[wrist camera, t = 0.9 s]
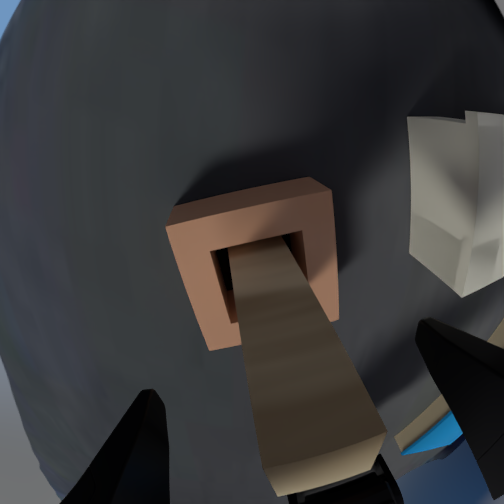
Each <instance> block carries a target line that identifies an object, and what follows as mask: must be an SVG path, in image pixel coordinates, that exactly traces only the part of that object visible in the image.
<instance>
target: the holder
mask: <svg viewBox="0 0 504 504" xmlns="http://www.w3.org/2000/svg"><path fill="white" fill-rule="evenodd" d="M165 227H166V231H167V234H168V237H169V240H170V243H171V246H172V249H173V252H174V255H175V258H176V261H177V264H178V267H179V270H180V273H181V276H182V279H183V282H184V285H185V288H186V290H187V293H188V296H189V299H190V302H191V304H192V307H193V310H194V312H195V315H196V318H197V320H198V323H199V326H200V328H201V331H202V333H203V336H204V338H205V341H206V344H207V346H208V349H209V351H211V350H217V349H222V348H226V347H231V346H236V345H241V337H240V331H239V324H238V317H237V311H236V304H235V297H234V290H229V291H227V289H226V286H225V282H224V278H223V275H222V271H221V267H220V264H219V260H218V256H217V253H216V250H217V249H222V248H226V247H230V246H235V245H239V244H243V243H248V242H252V241H256V240H261V239H265V238H270V237H274V236H279V235H283V234H288V233H289V235H290V242H291V249H292V255H293V257H294V259H295V260H296V262H297V264H298V266H299V267H300V269H301V271H302V273H303V274H304V276H305V278H306V280H307V281H308V283H309V285H310V287H311V288H312V290H313V292H314V294H315V296H316V297H317V299H318V301H319V303H320V304H321V306H322V308H323V310H324V312H325V313H326V315H327V317H328V319H329V321H330V322H332V321H335V320H338V319H339V299H338V270H337V251H336V235H335V222H334V210H333V199H332V190H331V189H329V188H327V187H326V186H324V185H322V184H321V183H319V182H318V181H316V180H314V179H313V178H311V177H304V178H299V179H294V180H288V181H283V182H278V183H273V184H268V185H263V186H258V187H254V188H249V189H244V190H240V191H235V192H231V193H226V194H222V195H218V196H213V197H209V198H205V199H201V200H197V201H193V202H188V203H185V204H181V205H177V206H174V207H173V209H172V212H171V214H170V217H169V219H168V221H167V224H166V226H165Z"/></svg>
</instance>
